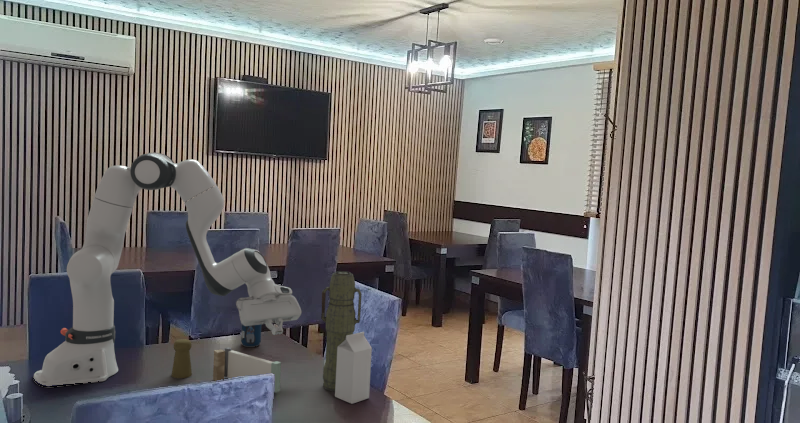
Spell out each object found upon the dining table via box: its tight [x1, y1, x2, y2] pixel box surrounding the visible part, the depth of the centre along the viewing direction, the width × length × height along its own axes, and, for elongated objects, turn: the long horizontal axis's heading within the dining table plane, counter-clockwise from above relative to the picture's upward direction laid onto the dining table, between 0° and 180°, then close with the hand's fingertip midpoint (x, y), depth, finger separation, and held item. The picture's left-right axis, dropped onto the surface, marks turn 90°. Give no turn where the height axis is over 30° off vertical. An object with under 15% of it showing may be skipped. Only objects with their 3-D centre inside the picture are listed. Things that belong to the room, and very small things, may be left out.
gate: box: [224, 347, 282, 393], centre depth 186 cm, size 22×2×9 cm, turn 59°
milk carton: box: [334, 331, 373, 405], centre depth 180 cm, size 7×7×19 cm
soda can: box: [240, 323, 262, 348], centre depth 226 cm, size 7×7×12 cm
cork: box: [170, 338, 193, 379], centre depth 192 cm, size 6×6×11 cm
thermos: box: [321, 270, 362, 392], centre depth 189 cm, size 9×12×35 cm
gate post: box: [212, 349, 225, 382], centre depth 189 cm, size 2×2×9 cm
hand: (278, 333), depth 193 cm, fingers closed
